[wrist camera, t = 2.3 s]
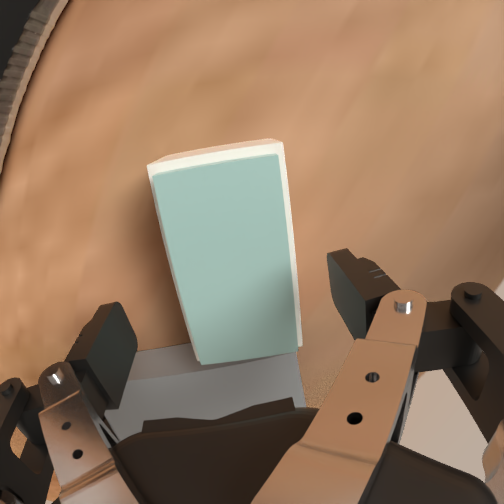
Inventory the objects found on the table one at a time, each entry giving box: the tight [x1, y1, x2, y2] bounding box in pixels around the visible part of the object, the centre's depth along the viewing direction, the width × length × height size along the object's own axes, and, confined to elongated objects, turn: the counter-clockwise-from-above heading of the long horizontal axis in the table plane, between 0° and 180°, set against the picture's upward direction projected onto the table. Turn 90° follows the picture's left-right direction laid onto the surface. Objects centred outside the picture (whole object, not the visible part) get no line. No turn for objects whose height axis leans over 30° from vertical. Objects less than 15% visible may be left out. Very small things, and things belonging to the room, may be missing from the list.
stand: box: [104, 343, 306, 441], centre depth 21 cm, size 16×9×3 cm, turn 103°
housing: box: [147, 138, 303, 365], centre depth 16 cm, size 6×10×5 cm, turn 8°
